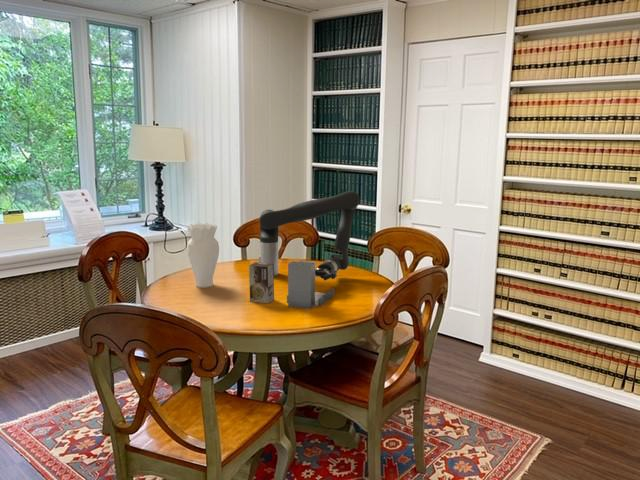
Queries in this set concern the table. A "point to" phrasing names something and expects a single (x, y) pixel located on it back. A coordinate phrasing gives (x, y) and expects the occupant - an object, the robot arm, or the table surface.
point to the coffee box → (261, 282)
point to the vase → (203, 252)
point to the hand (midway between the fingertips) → (315, 277)
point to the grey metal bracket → (304, 286)
